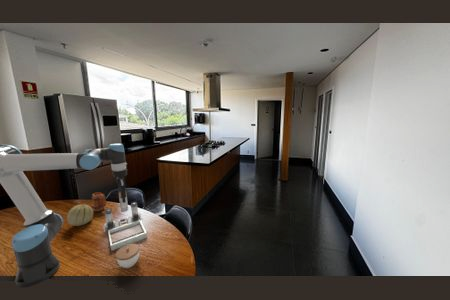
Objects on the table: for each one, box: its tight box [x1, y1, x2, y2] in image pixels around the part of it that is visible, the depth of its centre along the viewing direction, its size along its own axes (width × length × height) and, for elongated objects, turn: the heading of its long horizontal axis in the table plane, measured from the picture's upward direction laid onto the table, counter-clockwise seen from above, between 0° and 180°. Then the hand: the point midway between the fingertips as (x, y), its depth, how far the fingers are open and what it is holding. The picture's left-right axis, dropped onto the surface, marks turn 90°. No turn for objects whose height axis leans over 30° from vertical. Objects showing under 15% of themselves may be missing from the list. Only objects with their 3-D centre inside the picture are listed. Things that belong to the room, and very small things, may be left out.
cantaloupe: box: [66, 203, 94, 227], centre depth 129 cm, size 15×15×15 cm
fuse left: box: [104, 208, 114, 228], centre depth 124 cm, size 4×4×12 cm
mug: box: [90, 192, 107, 212], centre depth 148 cm, size 15×8×15 cm, turn 62°
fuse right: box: [130, 201, 139, 220], centre depth 134 cm, size 4×4×12 cm
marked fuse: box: [118, 191, 129, 213], centre depth 112 cm, size 4×4×12 cm
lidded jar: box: [115, 243, 140, 269], centre depth 95 cm, size 11×11×9 cm
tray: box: [107, 220, 148, 252], centre depth 117 cm, size 18×20×4 cm
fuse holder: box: [102, 212, 144, 233], centre depth 130 cm, size 10×24×4 cm, turn 127°
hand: (123, 205), depth 113 cm, fingers closed on marked fuse, 4 cm apart
